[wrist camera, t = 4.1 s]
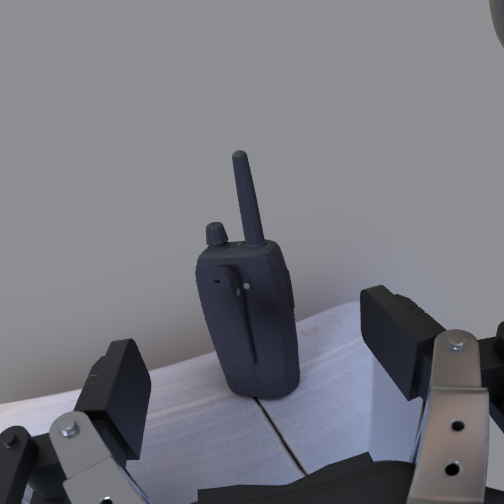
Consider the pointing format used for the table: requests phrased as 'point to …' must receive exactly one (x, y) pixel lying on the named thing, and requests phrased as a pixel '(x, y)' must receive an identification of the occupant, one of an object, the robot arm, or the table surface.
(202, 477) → the table surface
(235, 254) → the two-way radio
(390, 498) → the robot arm
